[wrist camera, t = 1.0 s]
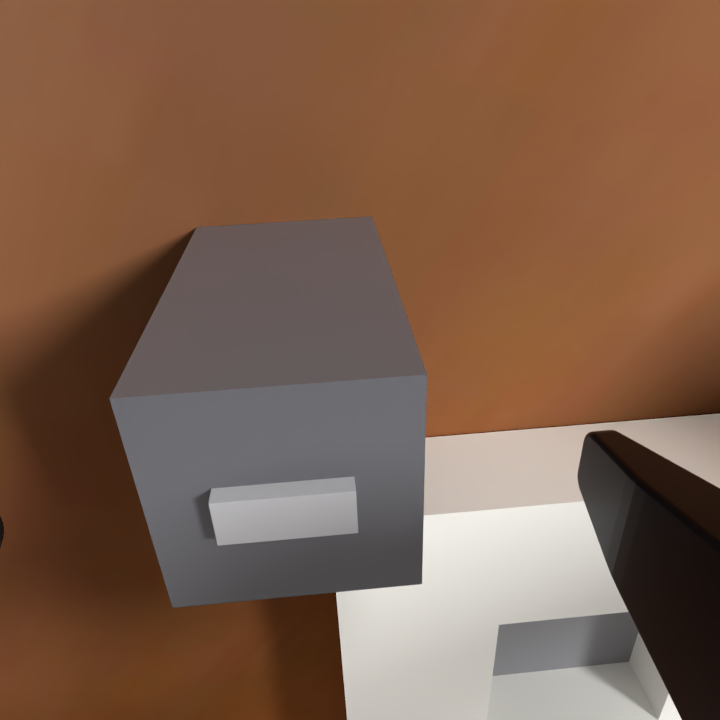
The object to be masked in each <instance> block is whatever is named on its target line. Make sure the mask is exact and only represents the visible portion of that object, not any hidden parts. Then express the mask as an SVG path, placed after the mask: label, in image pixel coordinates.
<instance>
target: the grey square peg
mask: <svg viewBox="0 0 720 720" xmlns="http://www.w3.org/2000/svg"><path fill="white" fill-rule="evenodd" d="M426 392H427V373H426V371H425V368H424V365H423V362H422V359H421V356H420V353H419V350H418V347H417V345H416V342H415V339H414V336H413V333H412V330H411V327H410V324H409V322H408V319H407V316H406V313H405V310H404V307H403V304H402V301H401V298H400V296H399V293H398V290H397V287H396V284H395V281H394V278H393V275H392V273H391V270H390V267H389V264H388V261H387V258H386V255H385V252H384V249H383V247H382V244H381V241H380V238H379V235H378V232H377V229H376V226H375V224H374V221H373V218H372V217H356V218H340V219H323V220H307V221H291V222H275V223H258V224H242V225H226V226H210V227H197V228H196V230H195V232H194V234H193V235H192V237H191V239H190V241H189V243H188V245H187V247H186V249H185V251H184V253H183V255H182V257H181V259H180V261H179V263H178V265H177V267H176V269H175V271H174V273H173V275H172V277H171V279H170V281H169V283H168V285H167V287H166V288H165V290H164V292H163V294H162V296H161V298H160V300H159V302H158V304H157V306H156V308H155V310H154V312H153V314H152V316H151V318H150V320H149V322H148V324H147V326H146V328H145V330H144V332H143V334H142V336H141V338H140V340H139V341H138V343H137V345H136V347H135V349H134V351H133V353H132V355H131V357H130V359H129V361H128V363H127V365H126V367H125V369H124V371H123V373H122V375H121V377H120V379H119V381H118V383H117V385H116V387H115V389H114V391H113V393H112V394H111V396H110V398H109V399H110V402H111V406H112V409H113V412H114V416H115V419H116V422H117V426H118V429H119V432H120V436H121V439H122V442H123V445H124V449H125V452H126V455H127V459H128V462H129V465H130V469H131V472H132V475H133V479H134V482H135V485H136V488H137V492H138V495H139V498H140V502H141V505H142V508H143V512H144V515H145V518H146V522H147V525H148V528H149V531H150V535H151V538H152V541H153V545H154V548H155V551H156V555H157V558H158V561H159V565H160V568H161V571H162V575H163V578H164V581H165V584H166V588H167V591H168V594H169V598H170V601H171V604H172V608H176V607H186V606H197V605H208V604H218V603H229V602H239V601H250V600H260V599H271V598H281V597H292V596H302V595H313V594H323V593H334V592H345V591H355V590H366V589H376V588H387V587H397V586H408V585H418V584H422V564H423V521H424V478H425V435H426Z"/></svg>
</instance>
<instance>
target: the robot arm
mask: <svg viewBox="0 0 720 720" xmlns="http://www.w3.org/2000/svg"><path fill="white" fill-rule="evenodd" d="M577 478H578V485H579V489H580V492H581V495H582V497H583V500H584V503H585V506H586V508H587V511H588V514H589V517H590V519H591V522H592V525H593V528H594V530H595V533H596V536H597V539H598V542H599V544H600V547H601V550H602V553H603V555H604V558H605V561H606V563H607V566H608V569H609V571H610V574H611V576H612V578H613V581H614V583H615V585H616V587H617V589H618V591H619V593H620V595H621V597H622V599H623V601H624V604H625V606H626V608H627V610H628V612H629V614H630V616H631V618H632V620H633V622H634V624H635V626H636V628H637V630H638V632H639V634H640V636H641V638H642V640H643V642H644V644H645V646H646V648H647V650H648V652H649V654H650V656H651V658H652V660H653V662H654V664H655V666H656V668H657V671H658V673H659V675H660V677H661V679H662V681H663V683H664V685H665V687H666V689H667V691H668V693H669V695H670V697H671V699H672V701H673V703H674V705H675V707H676V709H677V711H678V713H679V715H680V717H681V719H682V720H720V488H719V487H717V486H715V485H713V484H711V483H710V482H708V481H706V480H704V479H702V478H701V477H699V476H697V475H695V474H693V473H692V472H690V471H688V470H686V469H684V468H683V467H681V466H679V465H677V464H675V463H673V462H672V461H670V460H668V459H666V458H664V457H663V456H661V455H659V454H657V453H655V452H654V451H652V450H650V449H648V448H646V447H645V446H643V445H641V444H639V443H637V442H636V441H634V440H632V439H630V438H628V437H627V436H625V435H623V434H621V433H619V432H617V431H615V430H603V431H592V432H589V433H588V434H586V436H585V438H584V442H583V447H582V452H581V457H580V462H579V468H578V474H577ZM3 536H4V526H3V521H2V519H1V517H0V547H1V544H2V540H3Z"/></svg>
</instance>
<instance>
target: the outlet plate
mask: <svg viewBox="0 0 720 720" xmlns="http://www.w3.org/2000/svg"><path fill="white" fill-rule="evenodd" d="M603 430H615V431H617V432H619V433H621V434H623V435H625V436H627V437H628V438H630V439H632V440H634V441H636V442H637V443H639V444H641V445H643V446H645V447H646V448H648V449H650V450H652V451H654V452H655V453H657V454H659V455H661V456H663V457H664V458H666V459H668V460H670V461H672V462H673V463H675V464H677V465H679V466H681V467H683V468H684V469H686V470H688V471H690V472H692V473H693V474H695V475H697V476H699V477H701V478H702V479H704V480H706V481H708V482H710V483H711V484H713V485H715V486H717V487H719V488H720V413H719V414H707V415H695V416H683V417H671V418H658V419H646V420H634V421H622V422H610V423H598V424H585V425H573V426H561V427H549V428H537V429H525V430H512V431H500V432H488V433H476V434H464V435H452V436H439V437H427V438H425V478H424V521H423V564H422V584H418V585H408V586H397V587H387V588H376V589H366V590H355V591H345V592H336V598H337V610H338V621H339V633H340V644H341V656H342V667H343V679H344V690H345V702H346V713H347V720H682V719H681V717H680V715H679V713H678V711H677V709H676V707H675V705H674V703H673V701H672V699H671V697H670V695H669V693H668V691H667V689H666V687H665V685H664V683H663V681H662V679H661V677H660V675H659V673H658V671H657V668H656V666H655V664H654V662H653V660H652V658H651V656H650V654H649V652H648V650H647V648H646V646H645V644H644V642H643V640H642V638H641V636H640V634H639V632H638V630H637V628H636V626H635V624H634V622H633V620H632V618H631V616H630V614H629V612H628V610H627V608H626V606H625V604H624V601H623V599H622V597H621V595H620V593H619V591H618V589H617V587H616V585H615V583H614V581H613V578H612V576H611V574H610V571H609V569H608V566H607V563H606V561H605V558H604V555H603V553H602V550H601V547H600V544H599V542H598V539H597V536H596V533H595V530H594V528H593V525H592V522H591V519H590V517H589V514H588V511H587V508H586V506H585V503H584V500H583V497H582V495H581V492H580V489H579V485H578V478H577V474H578V468H579V462H580V457H581V452H582V447H583V442H584V438H585V436H586V434H588V433H589V432H592V431H603Z"/></svg>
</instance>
